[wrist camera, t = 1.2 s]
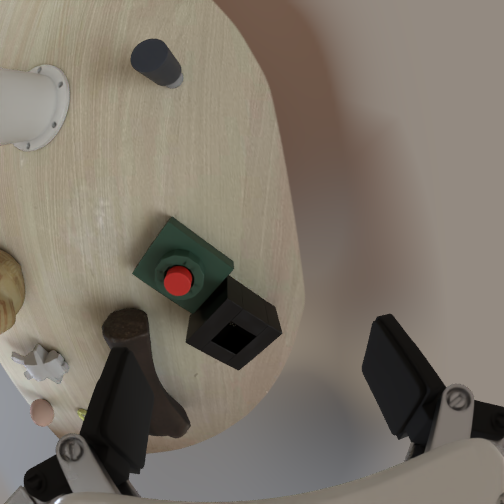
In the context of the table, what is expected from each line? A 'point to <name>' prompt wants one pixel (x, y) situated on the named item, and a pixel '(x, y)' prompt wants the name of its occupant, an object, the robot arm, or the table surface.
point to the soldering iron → (157, 63)
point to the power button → (178, 280)
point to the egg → (41, 412)
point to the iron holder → (226, 336)
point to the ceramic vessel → (10, 290)
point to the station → (184, 264)
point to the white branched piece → (42, 364)
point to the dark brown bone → (146, 369)
